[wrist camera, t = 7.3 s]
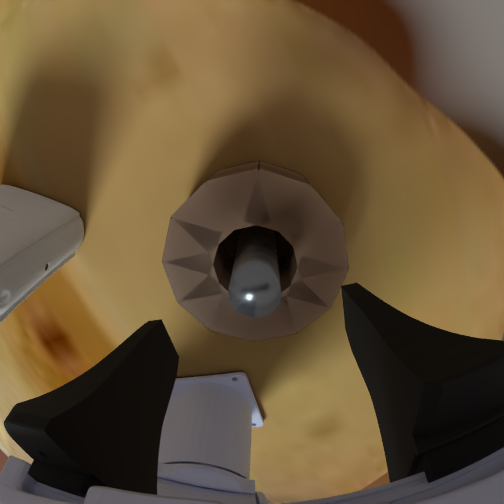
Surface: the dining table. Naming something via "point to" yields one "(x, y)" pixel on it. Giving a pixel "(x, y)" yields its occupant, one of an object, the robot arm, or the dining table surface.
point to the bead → (265, 215)
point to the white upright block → (32, 242)
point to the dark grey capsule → (255, 273)
